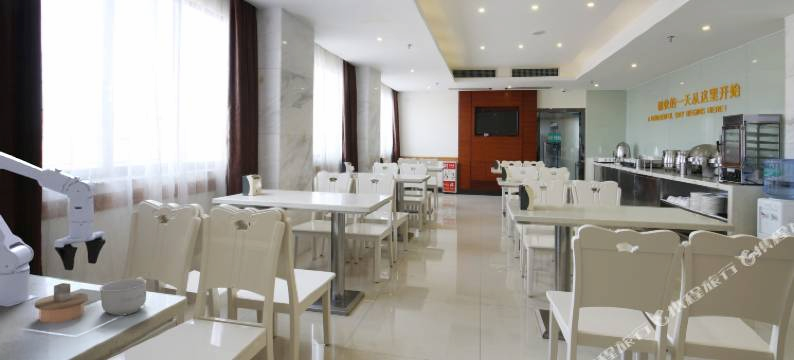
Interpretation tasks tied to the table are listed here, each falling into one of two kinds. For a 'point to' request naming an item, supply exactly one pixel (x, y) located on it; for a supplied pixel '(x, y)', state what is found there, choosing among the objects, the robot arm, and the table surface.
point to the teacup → (123, 296)
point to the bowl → (61, 314)
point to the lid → (61, 298)
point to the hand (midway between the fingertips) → (80, 266)
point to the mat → (90, 295)
